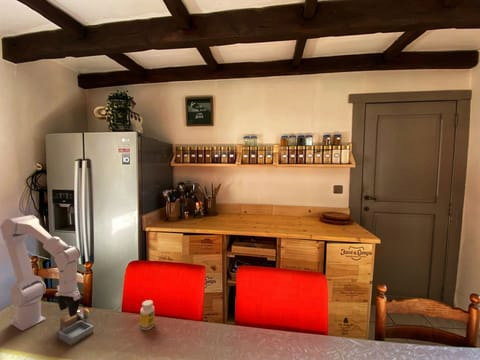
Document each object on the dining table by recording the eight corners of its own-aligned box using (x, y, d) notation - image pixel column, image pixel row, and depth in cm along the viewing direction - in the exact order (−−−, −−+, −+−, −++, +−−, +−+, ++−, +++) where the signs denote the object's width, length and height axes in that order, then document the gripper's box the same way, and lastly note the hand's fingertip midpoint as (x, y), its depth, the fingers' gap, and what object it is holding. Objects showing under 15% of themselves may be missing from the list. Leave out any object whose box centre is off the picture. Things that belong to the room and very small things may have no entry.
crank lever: (70, 315, 101) (70, 303, 100) (81, 311, 104) (81, 299, 104) (82, 326, 94) (82, 313, 94) (93, 321, 97) (93, 308, 97)
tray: (58, 338, 87) (58, 332, 87) (80, 325, 95) (80, 319, 94) (71, 345, 84) (71, 338, 84) (93, 332, 91) (93, 325, 91)
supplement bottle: (149, 331, 92) (149, 307, 92) (137, 329, 93) (137, 305, 93) (156, 322, 97) (157, 299, 97) (145, 320, 98) (145, 298, 98)
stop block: (60, 329, 92) (60, 318, 92) (71, 323, 96) (71, 313, 96) (65, 333, 90) (65, 321, 90) (76, 327, 94) (76, 316, 94)
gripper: (47, 278, 93) (48, 311, 93) (65, 287, 85) (65, 323, 86) (67, 271, 99) (68, 303, 99) (86, 280, 92) (86, 313, 92)
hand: (68, 312), depth 93 cm, fingers open, 7 cm apart
